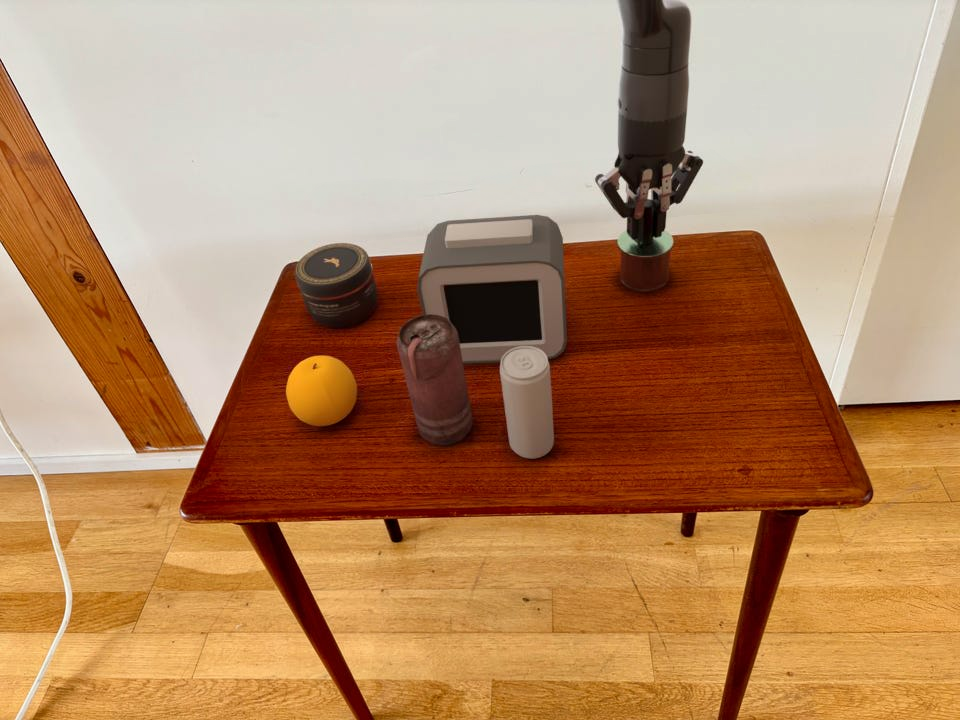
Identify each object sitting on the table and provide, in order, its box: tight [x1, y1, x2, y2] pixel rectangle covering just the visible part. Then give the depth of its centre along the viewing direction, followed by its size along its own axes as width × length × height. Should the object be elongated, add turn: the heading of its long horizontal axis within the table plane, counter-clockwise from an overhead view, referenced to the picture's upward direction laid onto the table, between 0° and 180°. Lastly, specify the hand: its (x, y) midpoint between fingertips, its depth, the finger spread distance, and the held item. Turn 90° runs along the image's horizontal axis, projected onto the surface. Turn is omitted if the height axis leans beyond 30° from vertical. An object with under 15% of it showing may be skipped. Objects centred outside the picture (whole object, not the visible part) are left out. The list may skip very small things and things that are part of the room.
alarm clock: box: [416, 214, 568, 365], centre depth 85 cm, size 16×11×16 cm
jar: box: [294, 242, 378, 329], centre depth 95 cm, size 10×10×8 cm
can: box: [396, 314, 474, 447], centre depth 74 cm, size 6×6×14 cm
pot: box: [619, 250, 672, 293], centre depth 93 cm, size 6×6×5 cm
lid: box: [617, 198, 674, 260], centre depth 89 cm, size 7×7×7 cm
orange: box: [285, 355, 358, 427], centre depth 80 cm, size 8×8×8 cm
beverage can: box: [499, 346, 555, 460], centre depth 72 cm, size 5×5×12 cm
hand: (645, 236), depth 91 cm, fingers closed on lid, 2 cm apart
